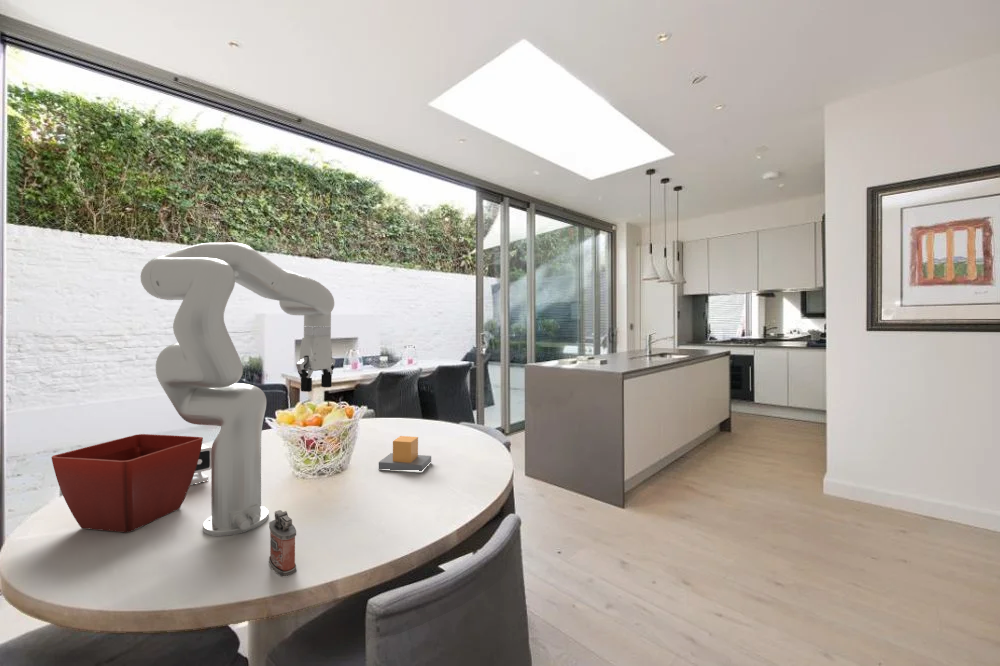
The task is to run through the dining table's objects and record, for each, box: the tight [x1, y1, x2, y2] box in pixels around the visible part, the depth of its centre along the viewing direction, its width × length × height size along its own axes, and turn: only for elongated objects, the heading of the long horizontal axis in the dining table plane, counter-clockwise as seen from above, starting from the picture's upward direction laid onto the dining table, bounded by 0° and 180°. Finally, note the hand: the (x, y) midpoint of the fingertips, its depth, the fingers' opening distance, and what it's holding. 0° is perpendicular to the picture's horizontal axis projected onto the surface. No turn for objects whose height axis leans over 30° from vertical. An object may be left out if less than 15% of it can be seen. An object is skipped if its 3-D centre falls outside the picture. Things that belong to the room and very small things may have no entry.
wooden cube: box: [392, 435, 419, 463], centre depth 131 cm, size 6×6×6 cm
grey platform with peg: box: [378, 452, 432, 471], centre depth 131 cm, size 14×9×8 cm, turn 81°
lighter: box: [268, 509, 297, 578], centre depth 77 cm, size 8×3×10 cm, turn 47°
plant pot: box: [51, 433, 204, 533], centre depth 95 cm, size 19×19×17 cm
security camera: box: [190, 443, 212, 486], centre depth 116 cm, size 6×7×10 cm
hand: (316, 389), depth 125 cm, fingers open, 9 cm apart
